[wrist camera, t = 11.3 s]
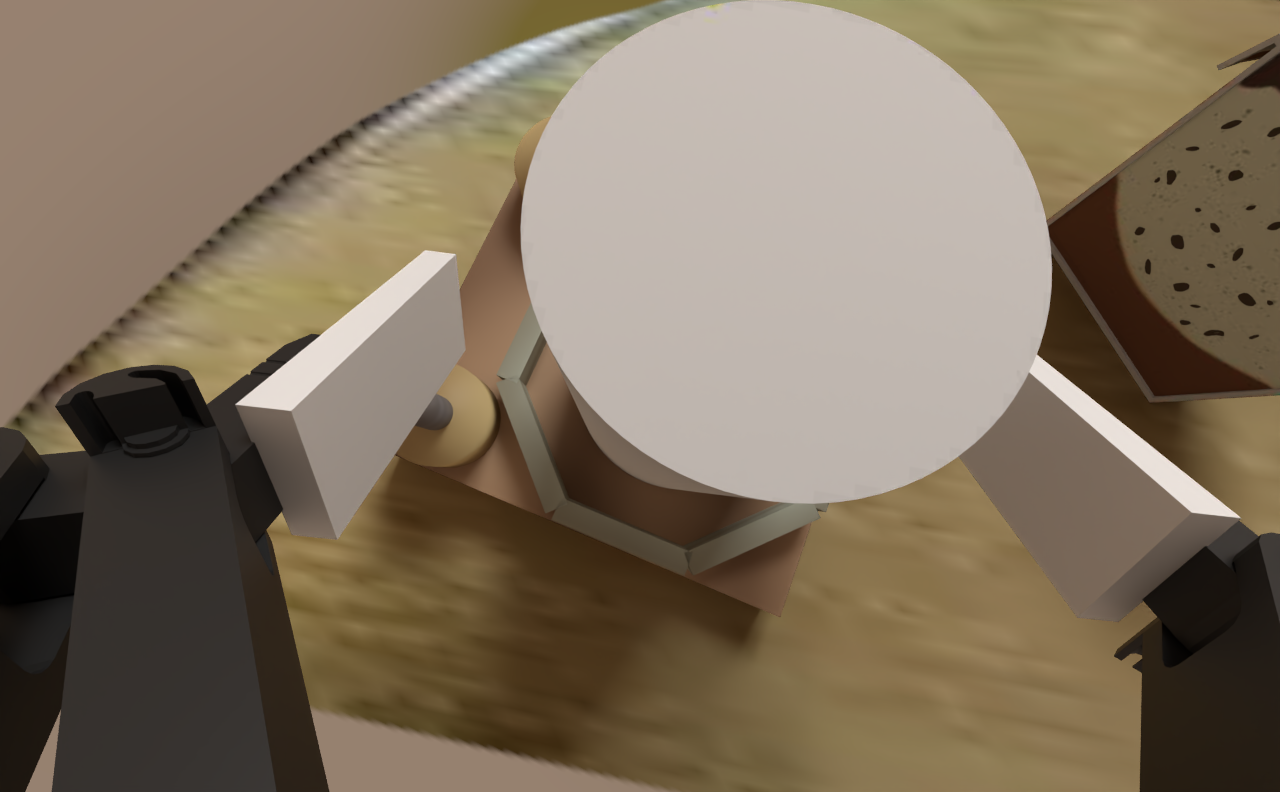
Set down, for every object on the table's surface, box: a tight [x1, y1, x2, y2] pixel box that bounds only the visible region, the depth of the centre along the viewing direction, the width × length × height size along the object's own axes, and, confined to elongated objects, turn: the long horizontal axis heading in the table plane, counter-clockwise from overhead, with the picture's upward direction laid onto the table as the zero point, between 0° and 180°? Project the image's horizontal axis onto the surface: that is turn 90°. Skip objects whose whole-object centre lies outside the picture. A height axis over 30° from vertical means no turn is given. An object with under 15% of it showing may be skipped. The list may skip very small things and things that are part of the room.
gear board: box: [395, 117, 829, 617], centre depth 19 cm, size 16×15×5 cm
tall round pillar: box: [521, 0, 1052, 504], centre depth 13 cm, size 8×8×12 cm
